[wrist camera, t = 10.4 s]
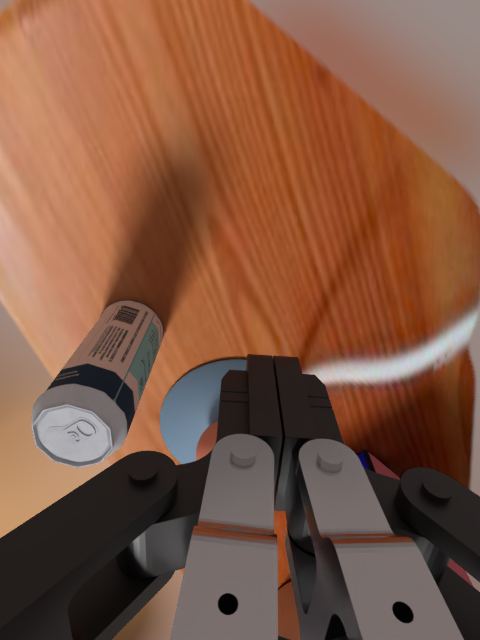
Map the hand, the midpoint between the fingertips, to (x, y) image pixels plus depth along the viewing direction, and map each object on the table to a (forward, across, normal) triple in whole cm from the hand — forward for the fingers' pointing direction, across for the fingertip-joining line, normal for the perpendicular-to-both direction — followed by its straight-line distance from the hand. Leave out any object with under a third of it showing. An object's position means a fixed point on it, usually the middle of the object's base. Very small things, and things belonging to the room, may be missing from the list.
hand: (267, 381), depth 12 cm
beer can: (+17, +8, +7) cm, 21 cm away
